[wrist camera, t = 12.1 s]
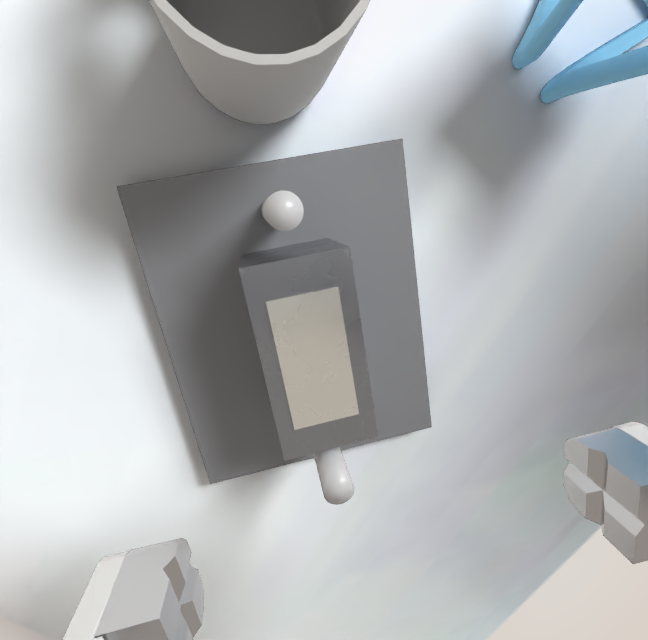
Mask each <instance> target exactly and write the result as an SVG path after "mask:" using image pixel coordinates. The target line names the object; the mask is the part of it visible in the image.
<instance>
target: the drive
mask: <svg viewBox="0 0 648 640" xmlns="http://www.w3.org/2000/svg"><path fill="white" fill-rule="evenodd" d="M239 273H240V277H241V282H242V286H243V290H244V294H245V298H246V302H247V307H248V311H249V315H250V319H251V323H252V327H253V332H254V336H255V340H256V344H257V348H258V352H259V357H260V361H261V365H262V369H263V373H264V377H265V382H266V386H267V390H268V394H269V398H270V402H271V407H272V411H273V415H274V419H275V423H276V427H277V432H278V436H279V440H280V444H281V448H282V452H283V457H284V461H286V460H290V459H294V458H298V457H302V456H305V455H309V454H313V453H317V452H321V451H325V450H329V449H333V448H337V447H341V446H344V445H348V444H352V443H356V442H360V441H364V440H368V439H372V438H376V437H378V431H377V425H376V418H375V411H374V405H373V398H372V391H371V385H370V378H369V371H368V365H367V358H366V351H365V345H364V338H363V331H362V325H361V318H360V311H359V305H358V298H357V291H356V285H355V278H354V271H353V265H352V258H351V251H350V247H349V246H347V245H344V244H342V243H339V242H337V241H334V240H332V239H329V238H324V239H319V240H314V241H308V242H303V243H298V244H293V245H288V246H283V247H277V248H272V249H267V250H262V251H257V252H252V253H246V254H242V257H241V261H240V265H239Z"/></svg>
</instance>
